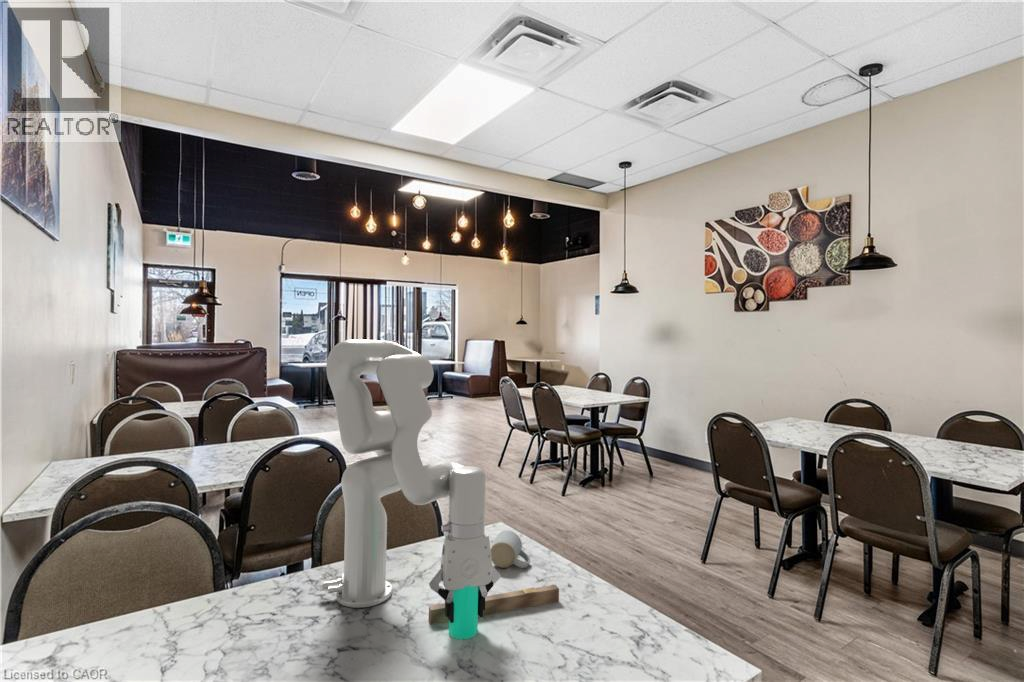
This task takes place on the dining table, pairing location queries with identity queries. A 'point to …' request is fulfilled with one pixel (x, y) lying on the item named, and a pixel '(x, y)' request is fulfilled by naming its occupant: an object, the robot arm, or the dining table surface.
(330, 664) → the dining table surface
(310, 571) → the dining table surface
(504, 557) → the ceramic mug
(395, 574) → the dining table surface
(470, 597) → the candle
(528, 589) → the rail
